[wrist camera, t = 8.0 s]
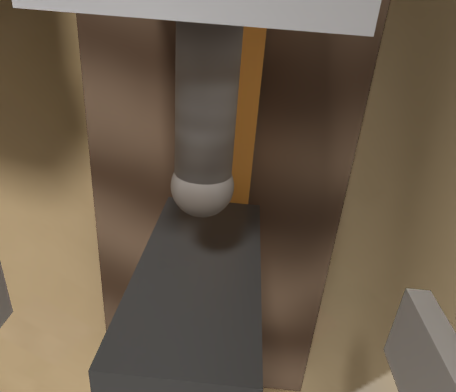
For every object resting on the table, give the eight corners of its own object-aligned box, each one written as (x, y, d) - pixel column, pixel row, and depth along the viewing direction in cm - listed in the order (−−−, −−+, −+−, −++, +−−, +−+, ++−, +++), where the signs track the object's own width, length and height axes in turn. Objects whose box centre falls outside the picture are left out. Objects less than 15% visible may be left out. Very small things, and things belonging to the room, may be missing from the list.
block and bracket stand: (147, -30, 14) (-47, -95, 5) (312, -17, 14) (417, -61, 5) (152, 264, 20) (67, 477, 11) (269, 276, 20) (281, 502, 11)
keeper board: (77, -155, 14) (-409, -596, 4) (407, -133, 14) (857, -545, 3) (117, 352, 26) (24, 584, 15) (297, 370, 25) (327, 620, 15)
